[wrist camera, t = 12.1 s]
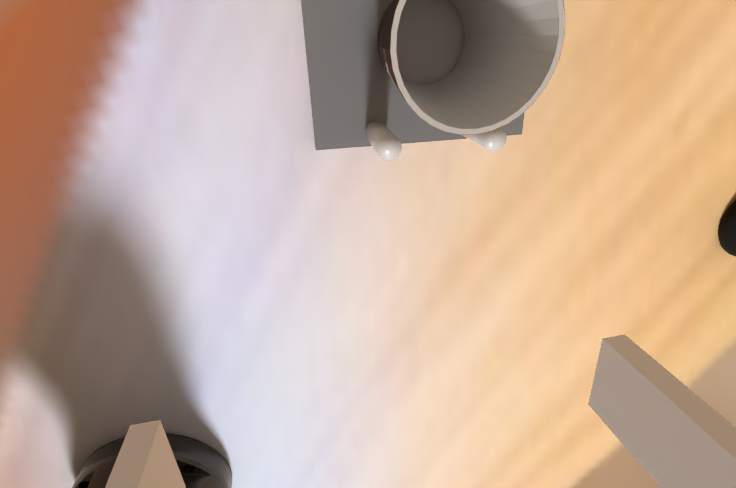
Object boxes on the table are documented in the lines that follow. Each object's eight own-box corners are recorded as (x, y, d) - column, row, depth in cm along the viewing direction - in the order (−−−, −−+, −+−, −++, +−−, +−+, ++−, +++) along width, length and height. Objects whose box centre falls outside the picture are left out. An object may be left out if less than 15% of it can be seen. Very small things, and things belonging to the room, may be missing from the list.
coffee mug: (488, 89, 31) (565, 111, 22) (375, 119, 31) (407, 153, 22) (472, -108, 26) (564, -182, 17) (335, -74, 25) (356, -132, 17)
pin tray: (315, 146, 32) (319, 169, 27) (287, -146, 25) (284, -198, 19) (514, 131, 34) (556, 149, 29) (545, -145, 27) (611, -192, 21)
